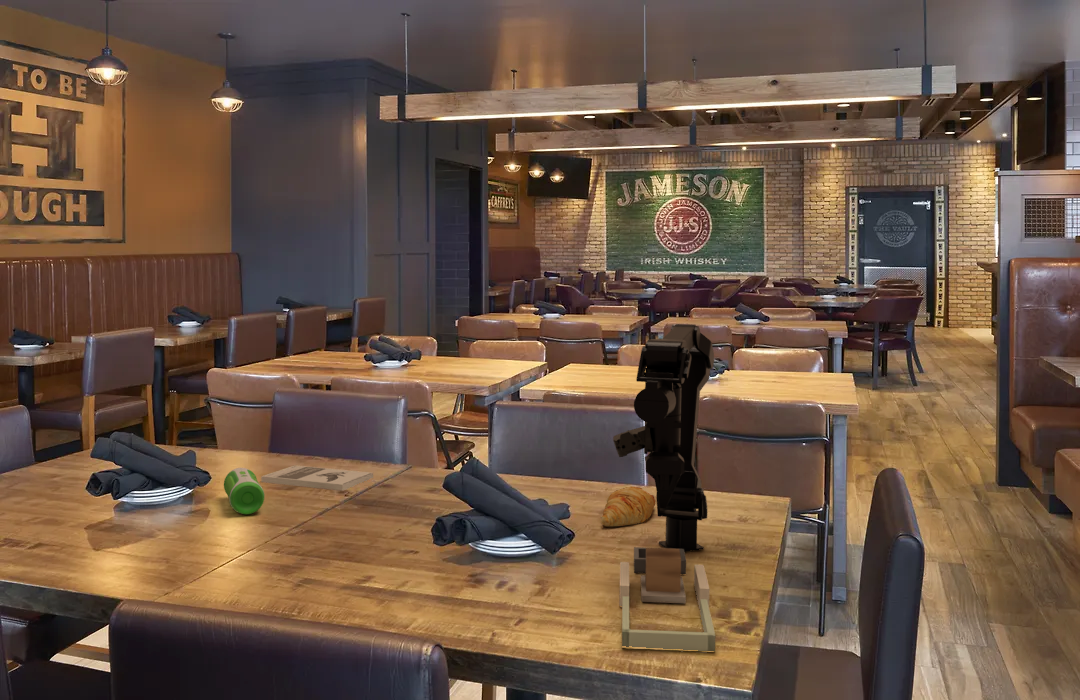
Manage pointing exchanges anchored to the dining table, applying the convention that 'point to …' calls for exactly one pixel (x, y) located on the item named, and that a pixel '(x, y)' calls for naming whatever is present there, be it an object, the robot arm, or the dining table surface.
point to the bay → (670, 633)
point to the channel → (699, 582)
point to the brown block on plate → (663, 577)
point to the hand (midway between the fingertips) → (662, 503)
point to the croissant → (628, 507)
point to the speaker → (243, 491)
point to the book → (317, 477)
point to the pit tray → (641, 560)
